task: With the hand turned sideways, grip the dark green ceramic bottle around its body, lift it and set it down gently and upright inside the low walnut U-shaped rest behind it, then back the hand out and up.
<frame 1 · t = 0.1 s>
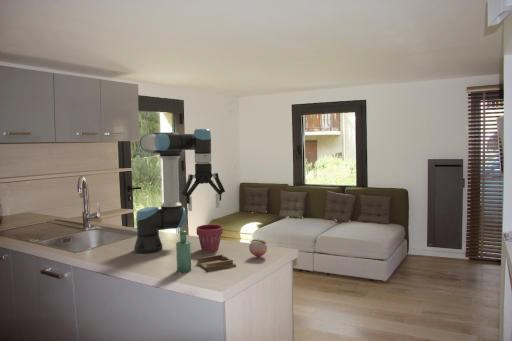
hand: (204, 209, 185), 28 cm above the countertop, tool pointing down, fingers open, 13 cm apart
decorative fruit: (258, 257, 206), on the countertop
u rest: (216, 265, 193), on the countertop
plant pot: (210, 250, 221), on the countertop
green bottle: (184, 270, 185), on the countertop
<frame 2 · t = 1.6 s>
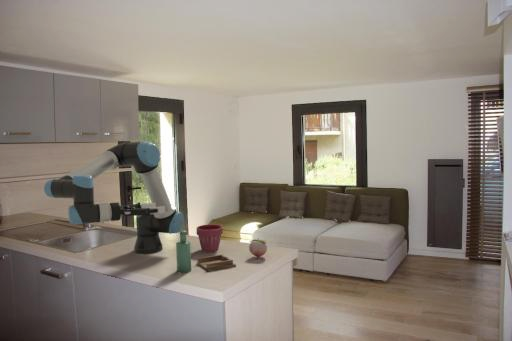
hand: (160, 207, 178), 30 cm above the countertop, tool horizontal, fingers open, 13 cm apart
nothing on the countertop moved.
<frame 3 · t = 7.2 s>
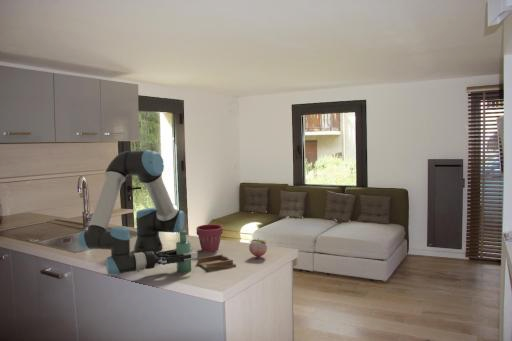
hand: (194, 253, 187), 8 cm above the countertop, tool horizontal, fingers closed on green bottle, 6 cm apart
green bottle: (184, 270, 185), on the countertop, touching gripper
everything else where it was.
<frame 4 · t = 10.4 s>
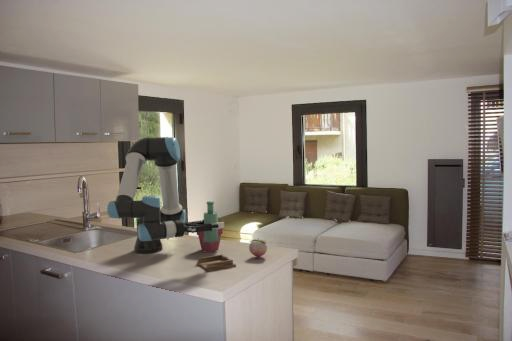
hand: (220, 223, 192), 20 cm above the countertop, tool horizontal, fingers closed on green bottle, 6 cm apart
green bottle: (211, 240, 190), point 12 cm above the countertop, touching gripper
everything else where it was.
when the fingers open (9 cm above the countertop, at t = 13.6 s): green bottle stays where it is, resting on u rest.
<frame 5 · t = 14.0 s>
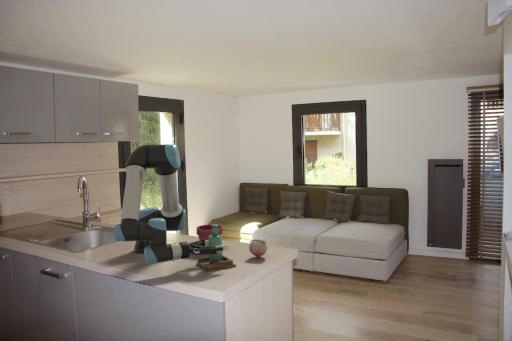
hand: (222, 244, 194), 9 cm above the countertop, tool horizontal, fingers open, 12 cm apart
green bottle: (216, 263, 193), point 1 cm above the countertop, touching u rest
everything else where it was.
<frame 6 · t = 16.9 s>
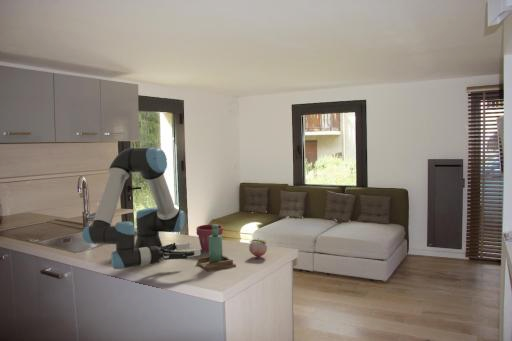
hand: (194, 248, 187), 10 cm above the countertop, tool horizontal, fingers open, 13 cm apart
nothing on the countertop moved.
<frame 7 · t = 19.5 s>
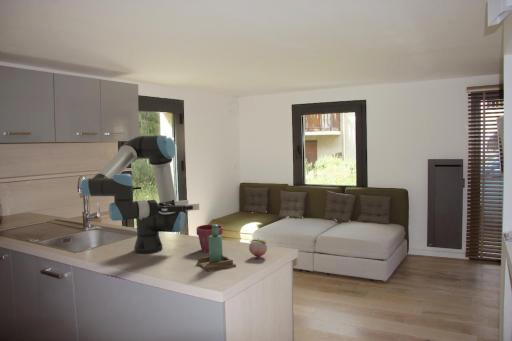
hand: (193, 204, 186), 30 cm above the countertop, tool horizontal, fingers open, 13 cm apart
nothing on the countertop moved.
at the end: green bottle 0.4 cm off-centre on the u rest, point 1.0 cm above the u rest's base; green bottle tilted 0°; the gripper is holding nothing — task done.
